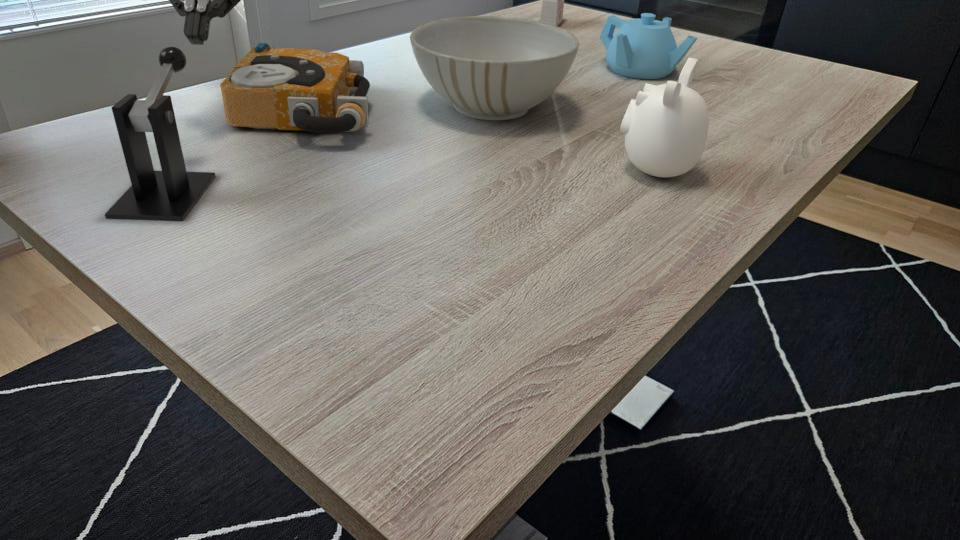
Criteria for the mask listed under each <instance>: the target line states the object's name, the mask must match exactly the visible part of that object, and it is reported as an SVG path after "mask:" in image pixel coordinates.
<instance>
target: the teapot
mask: <svg viewBox="0 0 960 540" xmlns="http://www.w3.org/2000/svg"><path fill="white" fill-rule="evenodd" d="M656 17H657V15H656V14H654V13H651V12H643V13H641V14H640V17H639V18H631V19H630V18H629V19H628V20H624V19H622V18H621V17H618V16H616V15H614V14H613V15H608V16H607V18H606V20H605V23H604V25H603V27H602V29H601V32H600V34H599V37H598V38H599V40H600V41H601V43H602V45H603V46H604V48H605V50H606V52H605V61H606V63H607V65H608V66H609V68H610V70H611V71H612V72H614V73H615V74H617V75H620V76H623V77H627V78H631V79H637V80H658V79H664V78H666V77H667V76H669V75H670V74H671V73H672V72H673V71H674V70H675V69H676V68H677V66H678V65H680V63H681V61H682V60H683V59H684V58H685V56H686V55H687V54H688V52H689V51H690V49H691V48H692V46H693V45H694V44H695V43H696V41H697V40H698V37H696V36H693V35H691V34H689V35H688V36H686V38H685V39H684V40H683V41H682V42H681V43H680V44H679V45H678V44H677V42H676V39H675V36H674V34H673V31H672V29H671V25H672V21H673V17H667V16H666V17H663V18H662V20H659V19H656ZM616 28H618V30H617V31H616V33H615V34H614V32H615V30H616Z"/></svg>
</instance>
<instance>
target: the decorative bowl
mask: <svg viewBox="0 0 960 540" xmlns="http://www.w3.org/2000/svg"><path fill="white" fill-rule="evenodd" d="M409 35H410V36H409V40H410V44H411V49H412V53H413V55H414V59H415V60H416V63H417V65H418V67H419V70H420V71H421V73H422V75H423V77H424V78H425V80H426V81H427V82H428V84H429V86H430V87H431V88H432V89H433V91H435V92H436V93H437V94H438V95H439V96H440V97H441V98H442V99H443V100H445V102H447V103H449V104H450V105H452V106H453V107H454V109H455V110H456V111H457V112H458V113H460V114H461V115H463V116H466V117H469V118H472V119H476V120H483V121H507V120H513V119H517V118H521V117H522V116H524V115H526V114H527V113H528V112H529V110H530V109H532V108H534V107H536V106H537V105H539V104H541V103H543V101H545V100H546V99H548V97H550V95H552V94H553V93H554V92H555V91H556V89H557V88H558V87H559V86H560V85H561V84H562V82H563V80H564V79H565V78H566V76H567V74H568V73H569V71H570V69H571V67H572V65H573V63H574V61H575V59H576V56H577V55H578V50H579V48H580V41H579V39H578V38H577V36H576V35H575V34H574V33H572V32H570V31H569V30H567V29H565V28H562V27H560V26H558V27H557V26H554V25H551V24H547V23H543V22H541V21H538V20H534V19H528V18H521V17H511V16H497V15H496V16H495V15H470V16H469V15H468V16H456V17H455V16H454V17H447V18H441V19H435V20H431V21H428V22H425V23H422V24H420V25H419V26H417V27H415V28H414V29H413V30H412V31H411V32H410V34H409Z"/></svg>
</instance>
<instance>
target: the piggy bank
mask: <svg viewBox="0 0 960 540" xmlns="http://www.w3.org/2000/svg"><path fill="white" fill-rule="evenodd" d="M698 64H699V59H697V58H694V57H690V56H689V57H688V58H687V60H686V62H685V63H684V65H683V67H682V69H681V71H680V74H679V76H678V79H677V80H678V81H675V80H667V82H666V83H663V84H658V85H655V84H651V83H647V82H646V83H645V84H644V87H643V90H638V91H637V94H636V98H632V99H630V101H629V103H628V105H627V108H626V111H625V113H624V115H623V118H622V120H621V123H620V127H619V133H620V134H622V135H624V150H625V153H626V156H627V157H628V160H629V161H630V162H631V163H632V165H633V166H634V167H636V168H637V169H638V170H640V172H643V173H645V174H647V175H649V176H653V177H656V178H675V177H678V176H681V175H684V174H685V173H687V172H689V171H690V170H692V169H693V168H694V167H695V166H696V165H697V164H698V162H699V161H700V159H701V157H702V156H703V154H704V151H705V148H706V144H707V140H708V135H709V134H708V133H709V112H708V107H707V103H706V101H705V99H704V98H703V97H702V95H701V94H700V93H698V92H697V90H694V89H693V88H691V87H690V86H691V84H692V82H693V79H694V76H695V73H696V71H697V68H698Z"/></svg>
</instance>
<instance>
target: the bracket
mask: <svg viewBox="0 0 960 540" xmlns="http://www.w3.org/2000/svg"><path fill="white" fill-rule="evenodd" d="M136 100H138V97H137V94H134V93H128V94H126V95H125V96H123V97H122V98H121V99H120V100H119V101H117V102H116V103H115V104H113V105H112V106H111V111H112V115H113V120H114V123H115V126H116V127H115V128H116V131H117V134H118V138H119V143H120V146H121V149H122V153H123V157H124V161H125V165H126V169H127V172H128V176H129V181H130V184H131V185H130V186H129V187H128V189H126V191H125V192H124V193H123V194H122V195H121V196H120V197H119V198H118V199H117V200H116V201H115V202H114V204H113V205H112V206H111V207H110V208H109V209H108V210H107V211H106V212H105V213H104V217H105V219H106V220H131V221H133V220H134V221H161V222H163V221H164V222H184V221H185V220H186V218H187V217H188V215H190V213H191V212H192V210H193V209H194V207H195V206H196V205H197V203H198V202H199V200H200V199H201V198H202V197H203V195H204V194H205V192H206V191H207V189H208V188H209V187H210V185H211V184H212V183H213V181H214V180H215V178H216V172H207V171H187V167H186V162H185V157H184V153H183V148H182V143H181V139H180V135H179V130H178V125H177V121H176V116H175V111H174V106H173V101H172V96H171V95H164V94H163V95H162V96H161V97H160V98H159V99H158V100H157V101H155V102H154V103H153V104H152V105H151V106H150V107H149V108H148V113H149V117H150V122H151V126H152V130H153V132H152V135H153V139H154V144H155V147H156V152H157V156H158V161H159V165H160V169H161V170H155V168H154V164H153V159H152V156H151V152H150V147H149V143H148V139H147V134H146V132H135V130H134V127H133V125H132V123H131V121H130V118H129V116H128V115H129V113H130V111H131V109H132V107H133V105H134V103H135V101H136Z"/></svg>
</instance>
